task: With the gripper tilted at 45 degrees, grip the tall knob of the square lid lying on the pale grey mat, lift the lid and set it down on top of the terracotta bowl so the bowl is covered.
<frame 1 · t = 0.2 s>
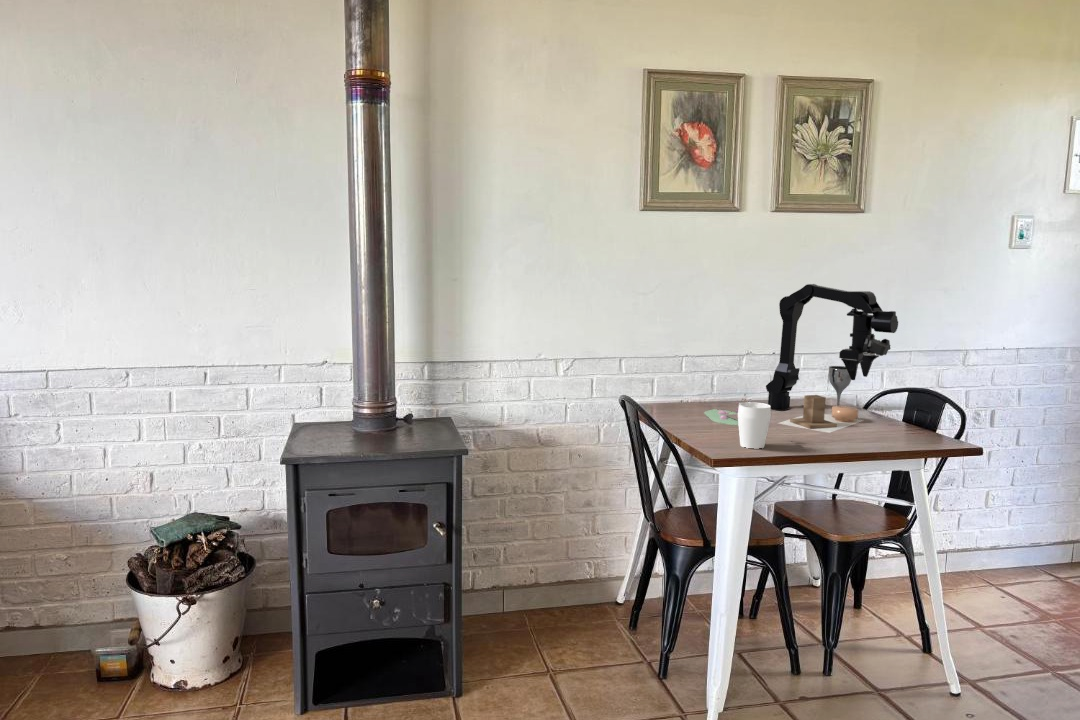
hand: (859, 378, 259), 15 cm above the table, tool pointing down, fingers open, 9 cm apart
bowl: (844, 420, 259), resting on mat
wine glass: (837, 410, 281), on the table
cup: (752, 447, 227), on the table
mat: (821, 424, 256), on the table
plant: (732, 419, 265), on the table
lid: (813, 424, 252), point 1 cm above the table, touching mat
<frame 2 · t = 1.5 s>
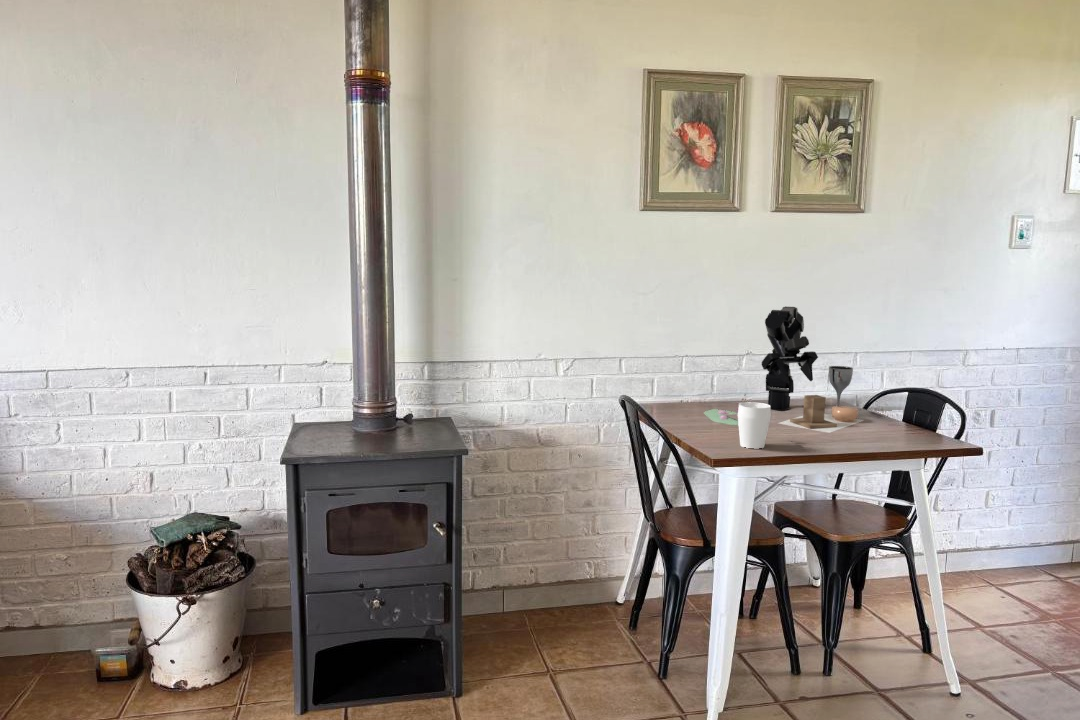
hand: (800, 381, 258), 13 cm above the table, tool tilted 45°, fingers open, 9 cm apart
nothing on the table moved.
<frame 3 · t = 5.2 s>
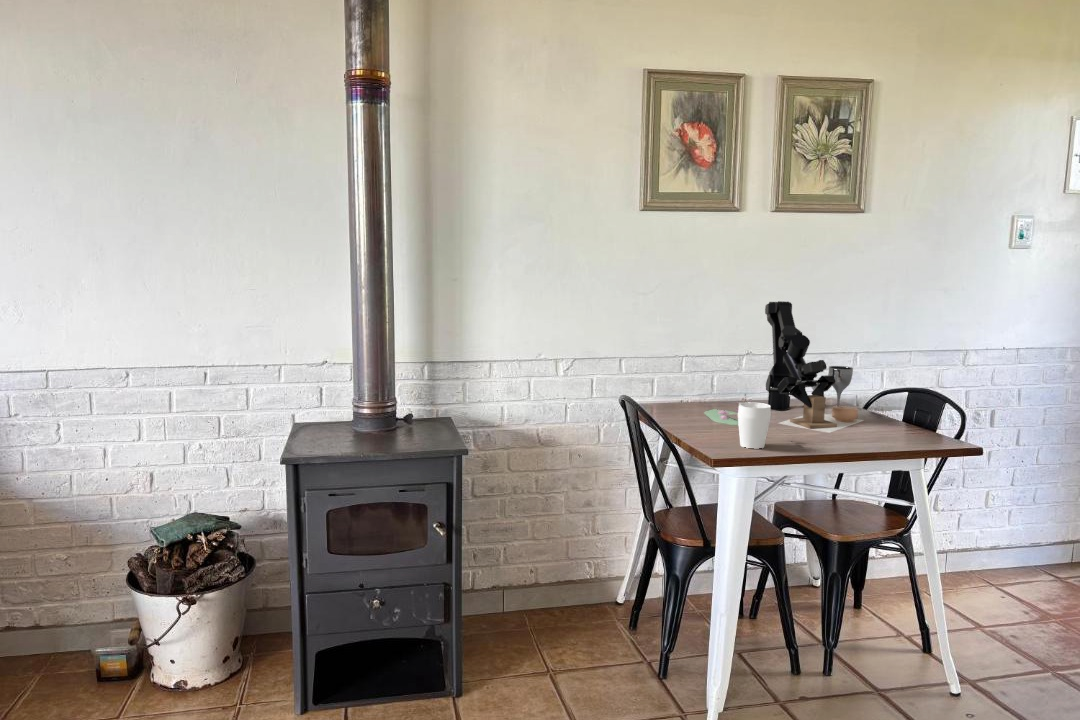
hand: (817, 406, 250), 7 cm above the table, tool tilted 45°, fingers closed on lid, 4 cm apart
lid: (813, 424, 252), point 1 cm above the table, touching gripper, mat
everything else where it was.
when the fingers open (12 cm above the table, at t = 9.6 s): lid stays where it is, resting on bowl.
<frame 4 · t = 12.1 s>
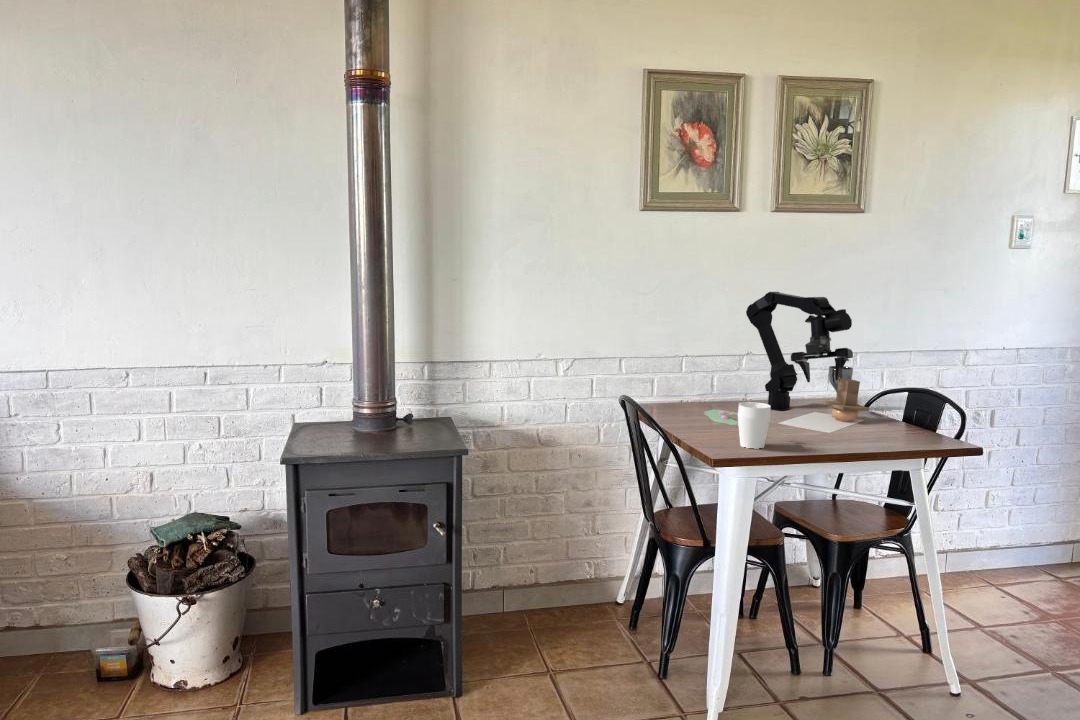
hand: (822, 381, 261), 13 cm above the table, tool tilted 15°, fingers open, 9 cm apart
lid: (845, 407, 258), point 5 cm above the table, touching bowl
everything else where it was.
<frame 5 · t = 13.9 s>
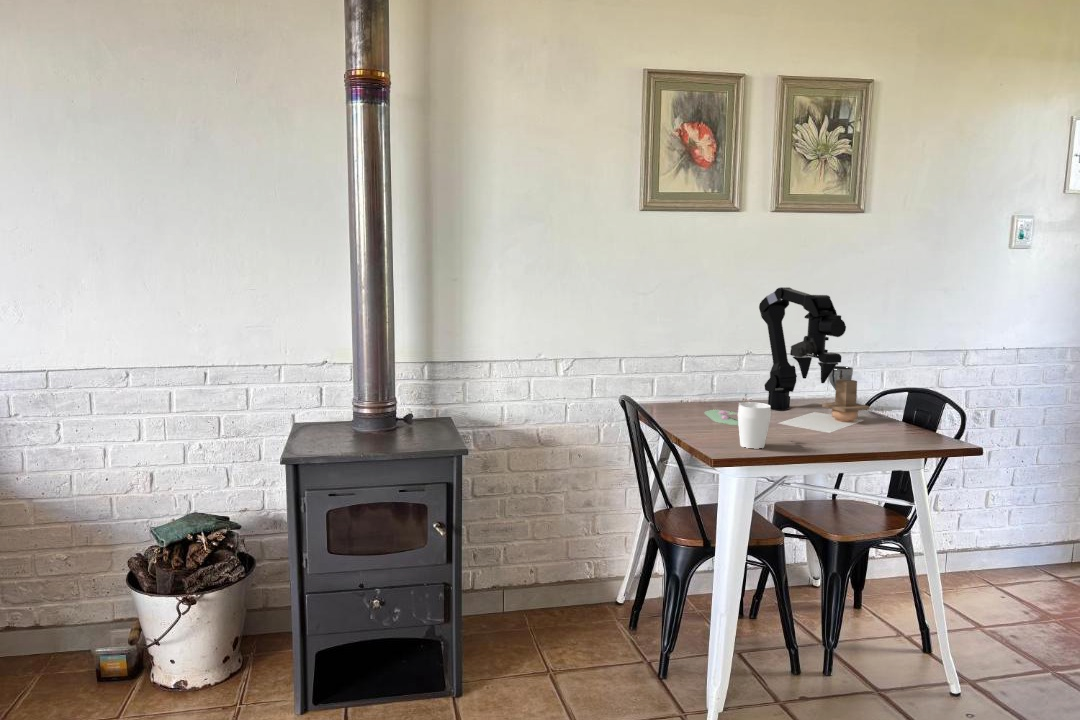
hand: (813, 380, 262), 13 cm above the table, tool pointing down, fingers open, 9 cm apart
at the end: lid 0.2 cm off-centre on the bowl, point 4.1 cm above the bowl's base; lid tilted 2°; the gripper is holding nothing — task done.
